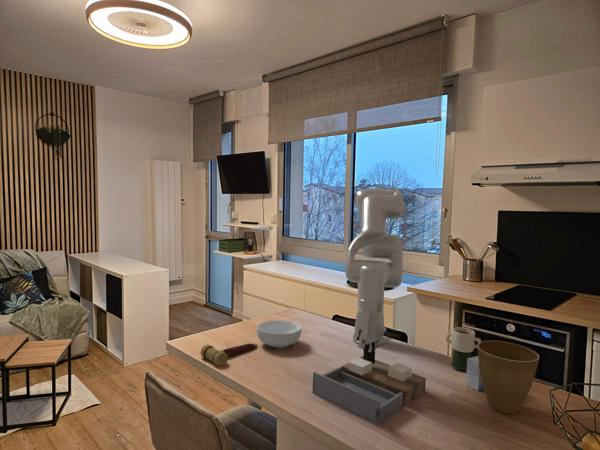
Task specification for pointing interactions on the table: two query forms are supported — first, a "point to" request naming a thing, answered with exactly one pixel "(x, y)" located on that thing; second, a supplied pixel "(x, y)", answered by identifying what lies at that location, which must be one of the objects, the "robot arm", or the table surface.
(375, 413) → the tray
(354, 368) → the white square tile
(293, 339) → the cereal bowl
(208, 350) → the gavel
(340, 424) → the table surface
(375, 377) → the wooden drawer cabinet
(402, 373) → the tile
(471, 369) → the medicine box
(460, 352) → the character mug
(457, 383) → the table surface
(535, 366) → the plant pot
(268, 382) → the table surface
